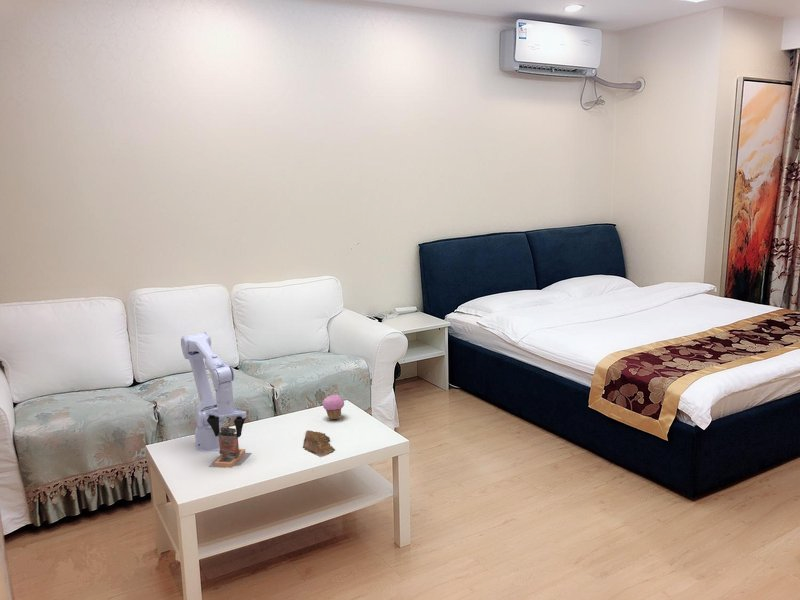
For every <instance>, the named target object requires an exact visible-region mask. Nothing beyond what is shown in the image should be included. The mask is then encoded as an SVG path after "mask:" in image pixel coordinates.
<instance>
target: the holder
mask: <svg viewBox="0 0 800 600" xmlns="http://www.w3.org/2000/svg"><path fill="white" fill-rule="evenodd" d="M239 452H240V455H239V456H226V455H222V454H219V455H218V456H217V457H216V459H214V460H213V462H211V463H210V464H209V465H208V468H226V469H227V468H231V469H232V468H234V467H238V466H242V464H243V463H245V461H246V460H247V459H248V458H249V457H250V456H251V455H252V452H246V449H245V448H239Z"/></svg>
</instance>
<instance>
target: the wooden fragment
mask: <svg viewBox="0 0 800 600" xmlns="http://www.w3.org/2000/svg"><path fill="white" fill-rule="evenodd" d="M330 440H331V439H330V436H328V435H326V433H323V432H321V431H313V430H310V429H309V430H306V432H305V437H304V439H303V445H302V448H303V449H304V450H305V451H307V452H309V453H311V454H314V455H316V456H318V457H320V458H322V457H326V456H329V455H330V454H331V453H333V452H334V451H335V450H336V448H334V447H333V446H332V445H331V443H329V441H330Z"/></svg>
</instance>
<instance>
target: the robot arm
mask: <svg viewBox="0 0 800 600" xmlns="http://www.w3.org/2000/svg"><path fill="white" fill-rule="evenodd" d="M180 347H181V350H182V355H183V357H184V359H185V360H188V361H189V363H190V367H191V371H192V374H193V378H194V382H195V385H196V390H197V393H198V398H199V402H198V404H197V405H196V406H195V408H194V416H195V421H196V424H197V425H196V428H195V430H194V439H195V446H196V448H195V451H204V452H219V451H220V447H219V437H218V434H219V433H220V432H221V429H220V428H221V427H222V425H223V424H224V421H225V420H226V418H235V419H234V420H233V423H234V425H235V429H236V432H235V434H237V437H238V438H240V437H241V436H242V431H243V426H244V423H245V421H246V419H247V416H248V415H247V410H240V409H236V408H235V404H234V395H233V392H234V391H233V384H232V383H233V381H234V380H235V373H234V370H233V367H232V366H231V365H230V364H225V362H224V361H223V359H222V357H220V355H219V354H216V353H215V352H214V351H213V349H212V338H211V335H210V334H209V333H208V332H207V331H204V332H200V333H199V332H198V333H194V334H190V335H182V336H181V338H180ZM206 368H207V370H208V371H209V373H210V375H211V380H212V384H213V385H212V386H213V389H214V390H215V397H214V396H213V391H212V387H211V383H210V380H209V377H208V372H207V370H206Z"/></svg>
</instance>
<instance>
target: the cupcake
mask: <svg viewBox="0 0 800 600" xmlns="http://www.w3.org/2000/svg"><path fill="white" fill-rule="evenodd" d="M344 406H345V400H344V398H343V397H341V396H340V394H331V395H328V396H327V397H326V398H324V399H323V401H322V407H323V408H324V410H325V411H326V414H327V417H328V419H329V420H339V419H340V417H341V416H342V408H343V407H344Z"/></svg>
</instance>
